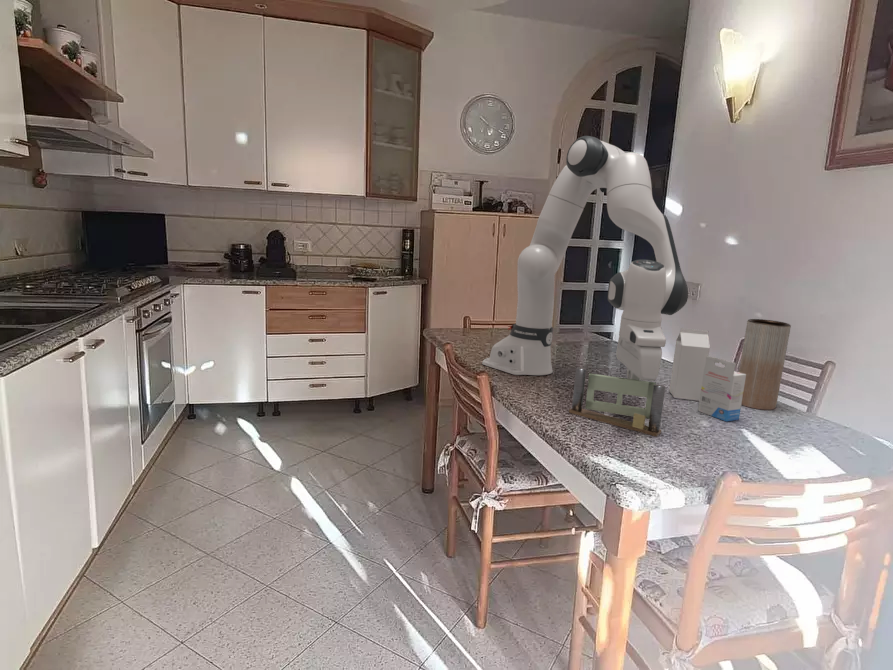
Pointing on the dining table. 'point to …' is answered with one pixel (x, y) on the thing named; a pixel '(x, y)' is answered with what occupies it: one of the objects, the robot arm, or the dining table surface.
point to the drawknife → (636, 425)
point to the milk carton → (689, 364)
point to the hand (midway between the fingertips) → (632, 387)
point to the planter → (763, 362)
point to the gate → (619, 394)
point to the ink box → (721, 390)
